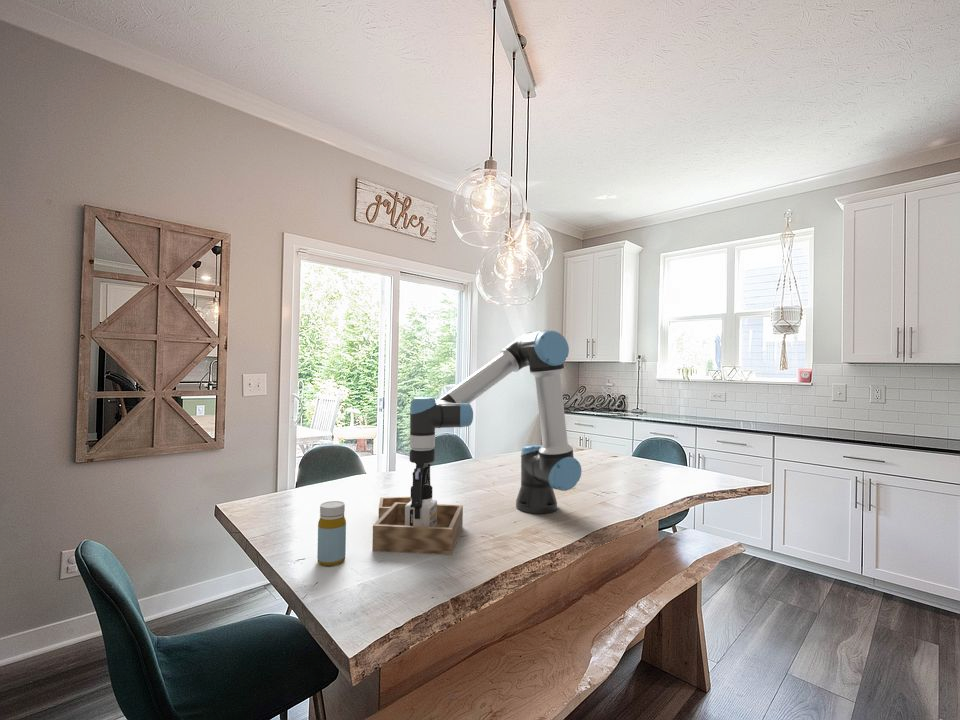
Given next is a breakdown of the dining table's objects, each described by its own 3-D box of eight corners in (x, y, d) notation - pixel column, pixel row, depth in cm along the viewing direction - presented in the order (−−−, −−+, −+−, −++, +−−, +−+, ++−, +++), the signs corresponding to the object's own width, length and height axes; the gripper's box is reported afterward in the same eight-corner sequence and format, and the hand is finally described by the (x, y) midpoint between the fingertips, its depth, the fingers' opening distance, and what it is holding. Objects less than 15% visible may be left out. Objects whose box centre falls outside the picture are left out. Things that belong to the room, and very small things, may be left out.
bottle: (321, 556, 125) (322, 500, 126) (347, 555, 126) (348, 500, 126) (314, 567, 118) (315, 508, 119) (342, 566, 119) (343, 508, 119)
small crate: (415, 513, 163) (415, 496, 163) (415, 524, 151) (416, 506, 151) (380, 514, 161) (380, 497, 161) (378, 526, 149) (378, 508, 149)
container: (429, 533, 135) (430, 489, 135) (404, 531, 137) (404, 487, 137) (437, 525, 143) (437, 482, 143) (413, 523, 144) (413, 481, 144)
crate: (462, 526, 150) (462, 505, 150) (451, 554, 127) (452, 529, 128) (394, 523, 152) (395, 502, 152) (372, 550, 130) (372, 525, 130)
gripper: (417, 442, 151) (416, 512, 151) (400, 454, 130) (399, 536, 130) (440, 443, 150) (439, 513, 150) (427, 455, 129) (426, 537, 129)
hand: (421, 523), depth 140 cm, fingers closed on container, 8 cm apart
